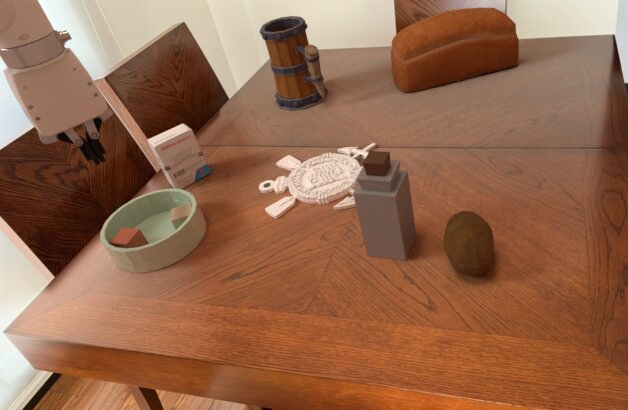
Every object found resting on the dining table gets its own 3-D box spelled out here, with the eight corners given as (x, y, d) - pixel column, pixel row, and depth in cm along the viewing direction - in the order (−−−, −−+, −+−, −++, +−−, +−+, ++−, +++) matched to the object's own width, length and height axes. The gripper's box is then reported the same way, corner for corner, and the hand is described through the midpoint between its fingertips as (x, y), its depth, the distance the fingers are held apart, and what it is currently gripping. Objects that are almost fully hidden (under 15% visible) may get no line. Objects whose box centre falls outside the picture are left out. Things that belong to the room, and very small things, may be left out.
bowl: (133, 288, 87) (118, 266, 84) (102, 243, 99) (88, 222, 95) (222, 234, 95) (212, 212, 92) (184, 198, 106) (174, 177, 103)
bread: (389, 75, 138) (381, 19, 128) (500, 48, 141) (501, -9, 132) (402, 96, 127) (394, 36, 118) (523, 66, 131) (525, 5, 121)
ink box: (203, 165, 116) (183, 121, 108) (212, 173, 112) (192, 128, 105) (168, 183, 112) (145, 138, 105) (176, 192, 109) (153, 146, 101)
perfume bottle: (367, 255, 85) (347, 169, 74) (379, 229, 90) (362, 144, 78) (405, 260, 83) (391, 172, 71) (416, 233, 87) (404, 146, 76)
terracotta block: (119, 257, 93) (108, 242, 91) (132, 242, 96) (122, 227, 94) (136, 259, 92) (126, 244, 90) (149, 244, 95) (140, 228, 93)
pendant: (394, 203, 95) (393, 197, 94) (250, 222, 97) (248, 216, 96) (390, 143, 111) (389, 137, 110) (267, 160, 113) (265, 155, 112)
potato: (454, 290, 76) (451, 254, 71) (436, 237, 86) (432, 202, 81) (506, 279, 76) (506, 243, 71) (482, 227, 86) (481, 192, 81)
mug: (350, 97, 131) (334, 21, 119) (306, 121, 125) (284, 43, 112) (308, 80, 144) (289, 10, 131) (265, 101, 137) (242, 29, 125)
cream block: (179, 236, 96) (170, 220, 93) (178, 224, 99) (170, 208, 96) (200, 229, 96) (192, 214, 94) (199, 217, 99) (191, 202, 97)
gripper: (80, 28, 75) (135, 133, 86) (-31, 66, 68) (45, 174, 80) (94, 37, 70) (151, 147, 82) (-23, 78, 64) (56, 192, 75)
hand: (98, 160), depth 81 cm, fingers closed
